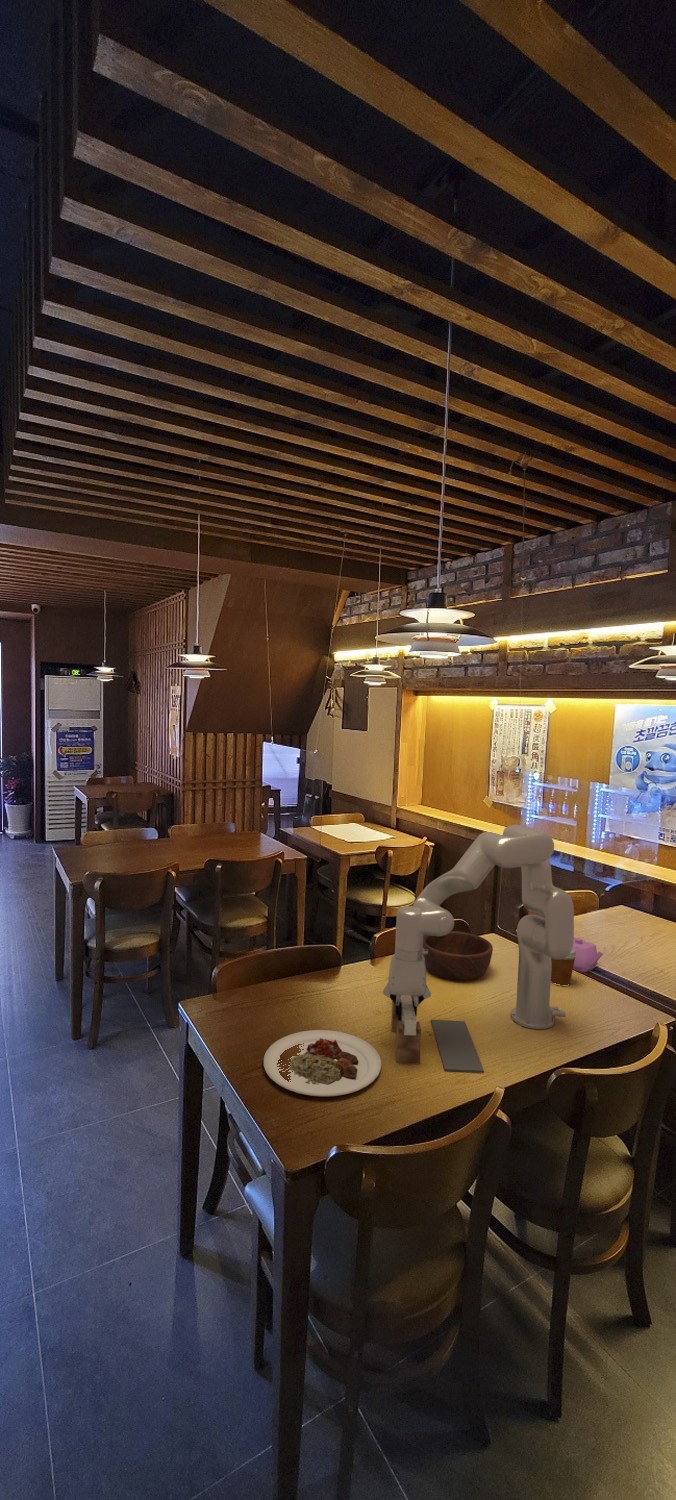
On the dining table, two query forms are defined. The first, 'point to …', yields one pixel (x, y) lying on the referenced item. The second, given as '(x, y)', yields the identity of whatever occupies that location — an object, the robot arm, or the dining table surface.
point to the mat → (456, 1046)
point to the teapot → (585, 955)
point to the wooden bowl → (457, 955)
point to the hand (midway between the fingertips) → (405, 1017)
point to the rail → (408, 1015)
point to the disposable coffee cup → (563, 969)
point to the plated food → (324, 1063)
